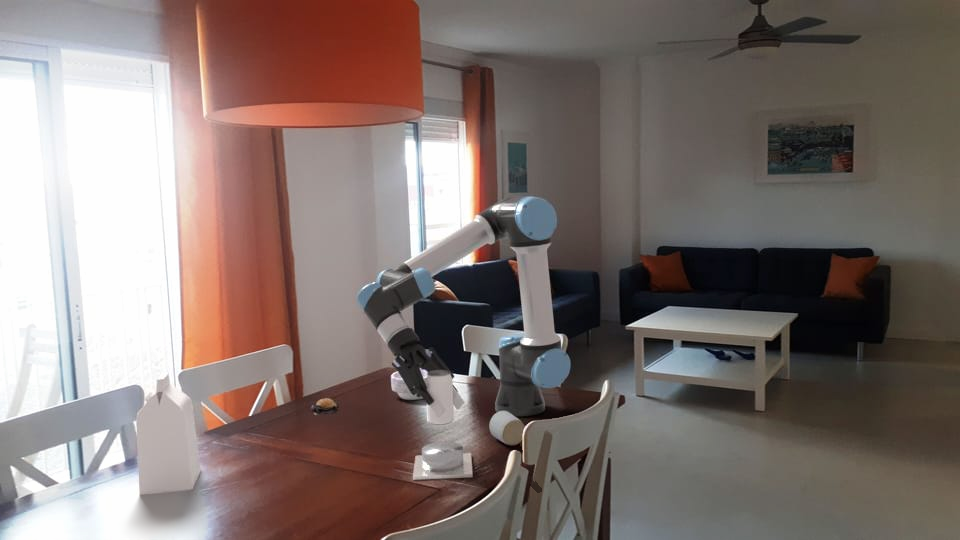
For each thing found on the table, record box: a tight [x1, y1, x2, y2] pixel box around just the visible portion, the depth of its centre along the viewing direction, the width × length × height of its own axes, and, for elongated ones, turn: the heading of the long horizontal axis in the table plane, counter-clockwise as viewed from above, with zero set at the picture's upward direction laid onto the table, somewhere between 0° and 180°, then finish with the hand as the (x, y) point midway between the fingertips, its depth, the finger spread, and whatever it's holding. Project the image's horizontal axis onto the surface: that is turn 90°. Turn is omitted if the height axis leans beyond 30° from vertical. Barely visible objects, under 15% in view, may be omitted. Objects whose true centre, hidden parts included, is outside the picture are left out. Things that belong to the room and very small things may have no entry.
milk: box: [135, 372, 202, 496], centre depth 176 cm, size 12×12×26 cm
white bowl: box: [390, 367, 428, 401], centre depth 245 cm, size 15×15×8 cm
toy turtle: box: [311, 397, 339, 416], centre depth 234 cm, size 11×8×4 cm
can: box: [426, 370, 455, 426], centre depth 179 cm, size 6×6×12 cm
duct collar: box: [412, 441, 473, 481], centre depth 181 cm, size 14×14×5 cm
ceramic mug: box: [488, 411, 526, 446], centre depth 198 cm, size 11×8×8 cm
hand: (451, 409), depth 177 cm, fingers closed on can, 6 cm apart
